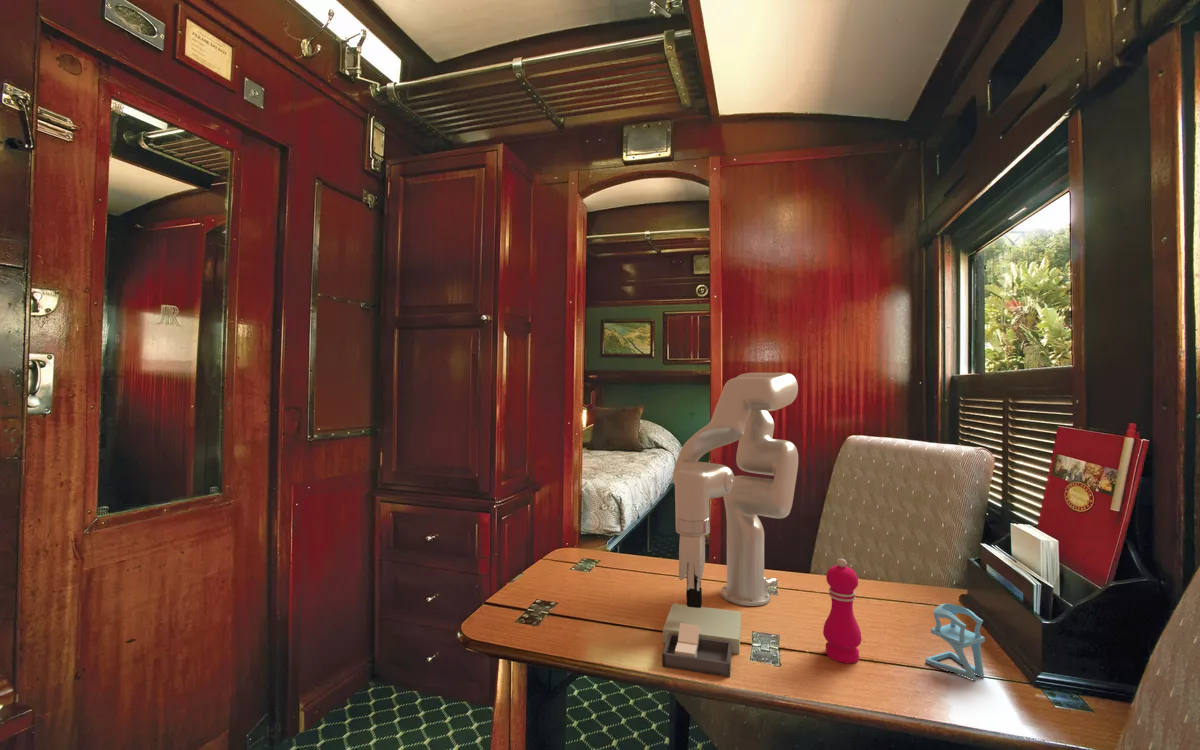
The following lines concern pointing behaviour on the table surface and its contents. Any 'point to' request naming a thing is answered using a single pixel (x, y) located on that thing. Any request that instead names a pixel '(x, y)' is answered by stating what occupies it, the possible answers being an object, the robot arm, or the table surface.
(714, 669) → the box
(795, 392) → the robot arm
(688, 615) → the beige flat slab
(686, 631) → the tile rear
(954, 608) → the phone stand
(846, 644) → the pepper mill
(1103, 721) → the table surface
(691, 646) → the tile front
